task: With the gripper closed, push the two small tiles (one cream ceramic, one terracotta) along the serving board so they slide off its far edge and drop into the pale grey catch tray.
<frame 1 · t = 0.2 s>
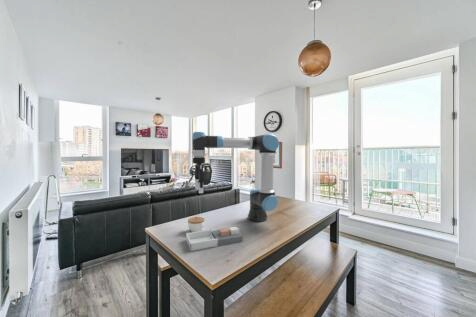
hand: (199, 191, 125), 28 cm above the table, fingers open, 13 cm apart
board: (226, 238, 120), on the table
tile near: (233, 232, 122), point 3 cm above the table, touching board
tile far: (224, 234, 120), point 3 cm above the table, touching board
lidded jar: (196, 231, 132), on the table
catch tray: (201, 242, 114), on the table
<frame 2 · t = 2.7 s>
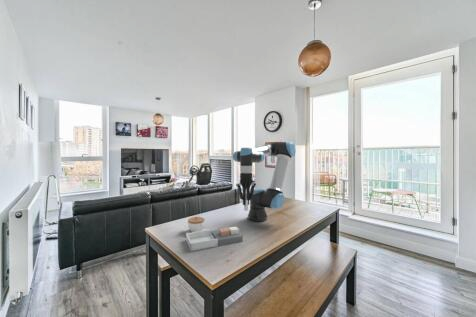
hand: (246, 210, 125), 16 cm above the table, fingers closed
nothing on the table moved.
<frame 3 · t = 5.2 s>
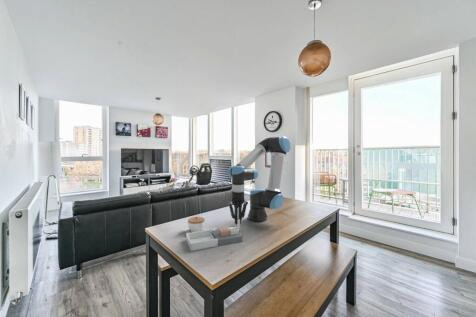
hand: (237, 229, 123), 5 cm above the table, fingers closed
tile near: (233, 232, 122), point 3 cm above the table, touching board, gripper
everything else where it was.
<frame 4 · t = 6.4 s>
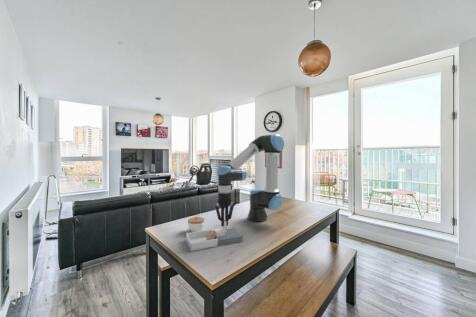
hand: (224, 231, 120), 5 cm above the table, fingers closed
tile near: (219, 234, 119), point 3 cm above the table, touching gripper
tile far: (212, 237, 117), point 2 cm above the table, tilted 45°, touching catch tray
everything else where it was.
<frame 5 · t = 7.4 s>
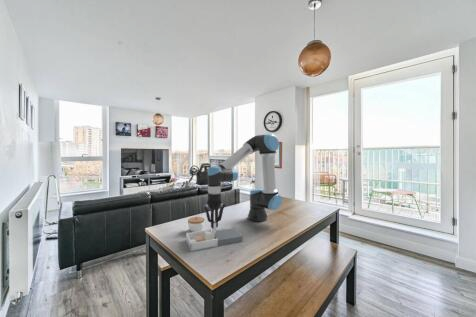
hand: (214, 233, 117), 5 cm above the table, fingers closed
tile near: (208, 237, 116), point 2 cm above the table, tilted 14°, touching catch tray, gripper, tile far
tile far: (200, 237, 114), point 3 cm above the table, tilted 180°, touching catch tray, tile near
everything else where it was.
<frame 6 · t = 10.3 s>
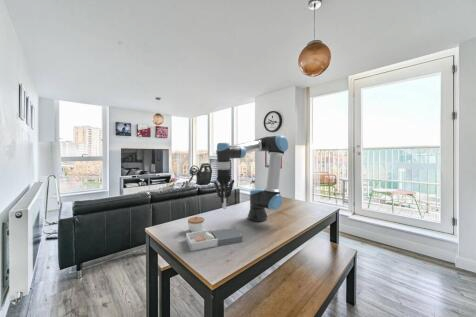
hand: (224, 208, 119), 18 cm above the table, fingers closed
tile near: (207, 238, 116), point 2 cm above the table, tilted 32°, touching catch tray, tile far
everything else where it was.
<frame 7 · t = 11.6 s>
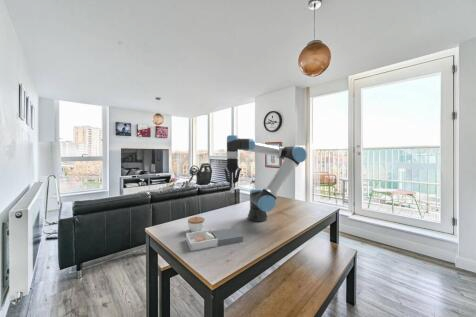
hand: (232, 192, 137), 24 cm above the table, fingers closed
nothing on the table moved.
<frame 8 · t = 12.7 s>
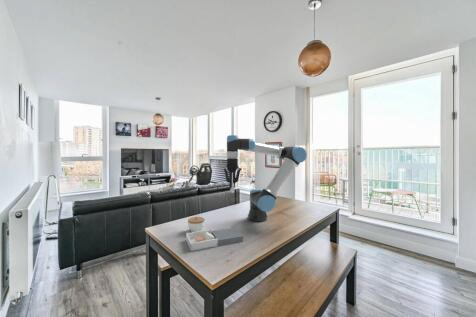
hand: (232, 192, 137), 24 cm above the table, fingers closed
nothing on the table moved.
at the end: tile near inside the target area (4.3 cm from its centre), point 1.8 cm above the table; tile far inside the target area (0.2 cm from its centre), point 3.0 cm above the table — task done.
